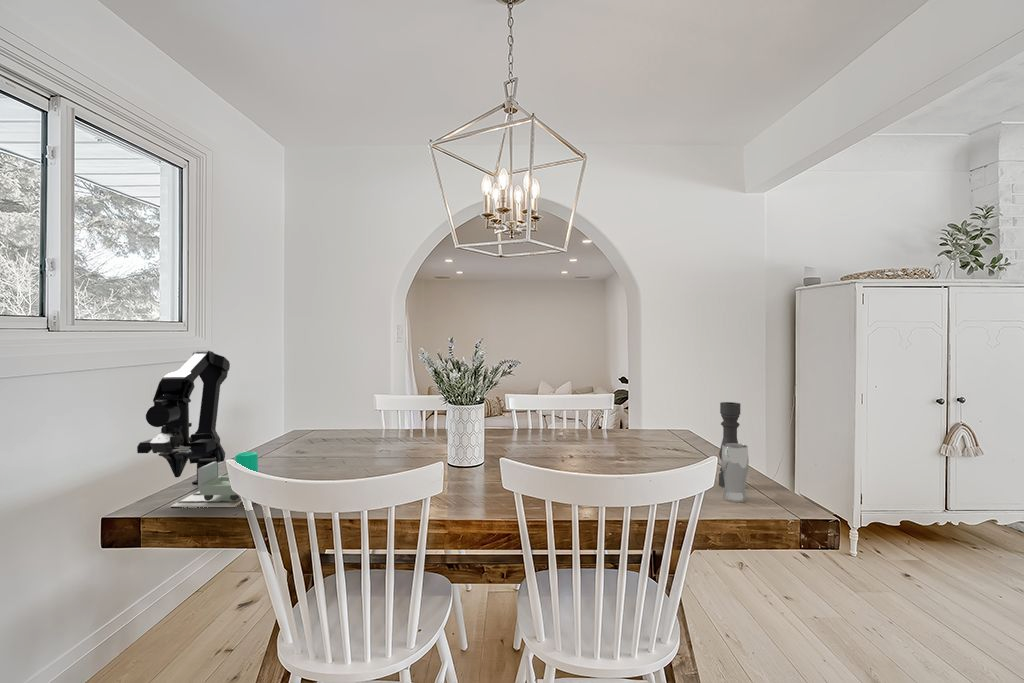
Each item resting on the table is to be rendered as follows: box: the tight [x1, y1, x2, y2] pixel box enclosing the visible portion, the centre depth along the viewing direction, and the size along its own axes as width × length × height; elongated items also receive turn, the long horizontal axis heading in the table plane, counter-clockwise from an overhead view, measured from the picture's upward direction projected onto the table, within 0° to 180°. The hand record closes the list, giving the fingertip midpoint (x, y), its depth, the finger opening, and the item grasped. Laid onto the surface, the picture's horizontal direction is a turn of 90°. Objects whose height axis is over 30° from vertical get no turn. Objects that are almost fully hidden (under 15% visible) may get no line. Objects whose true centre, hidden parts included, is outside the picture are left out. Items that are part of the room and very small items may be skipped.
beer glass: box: [721, 443, 749, 503], centre depth 152 cm, size 7×7×15 cm
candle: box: [235, 448, 259, 473], centre depth 162 cm, size 6×6×12 cm
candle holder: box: [718, 401, 741, 488], centre depth 165 cm, size 6×6×25 cm
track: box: [169, 491, 242, 509], centre depth 151 cm, size 13×17×1 cm
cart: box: [197, 462, 239, 501], centre depth 151 cm, size 10×11×9 cm
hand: (177, 477), depth 151 cm, fingers closed
